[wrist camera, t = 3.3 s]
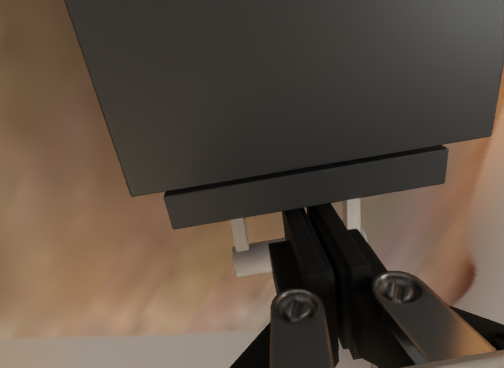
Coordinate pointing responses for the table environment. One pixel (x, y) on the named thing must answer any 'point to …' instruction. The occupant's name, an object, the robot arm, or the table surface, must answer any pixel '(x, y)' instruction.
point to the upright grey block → (285, 81)
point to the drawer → (301, 196)
